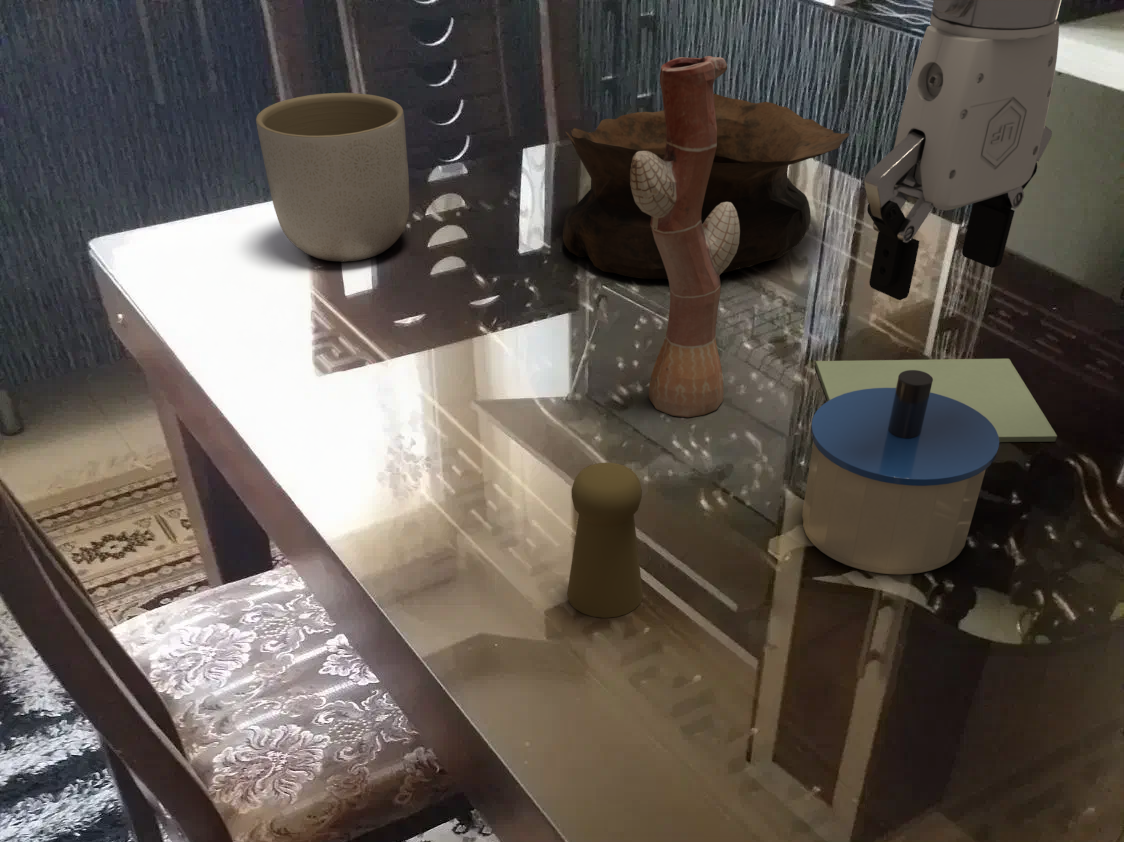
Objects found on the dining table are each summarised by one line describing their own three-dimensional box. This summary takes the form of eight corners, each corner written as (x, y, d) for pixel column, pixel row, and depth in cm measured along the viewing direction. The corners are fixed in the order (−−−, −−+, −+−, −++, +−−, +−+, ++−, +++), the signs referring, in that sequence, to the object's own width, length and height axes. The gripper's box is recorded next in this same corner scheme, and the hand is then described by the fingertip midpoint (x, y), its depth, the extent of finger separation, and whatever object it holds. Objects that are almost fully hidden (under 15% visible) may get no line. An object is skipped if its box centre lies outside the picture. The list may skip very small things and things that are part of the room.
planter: (426, 265, 139) (413, 129, 129) (285, 281, 136) (260, 142, 126) (405, 216, 151) (392, 87, 140) (275, 229, 148) (251, 99, 138)
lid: (969, 399, 97) (985, 334, 93) (1018, 491, 87) (1039, 423, 83) (796, 401, 97) (806, 336, 93) (825, 494, 87) (837, 425, 83)
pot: (943, 484, 102) (966, 395, 97) (984, 573, 93) (1012, 481, 87) (791, 486, 103) (804, 397, 97) (816, 575, 93) (832, 483, 87)
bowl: (503, 254, 146) (495, 121, 136) (682, 203, 163) (686, 82, 153) (705, 313, 125) (712, 161, 116) (886, 248, 142) (905, 111, 133)
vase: (721, 380, 117) (751, 44, 96) (734, 415, 112) (769, 68, 91) (618, 385, 117) (626, 48, 96) (627, 421, 111) (637, 72, 90)
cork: (629, 624, 89) (633, 501, 81) (556, 608, 90) (553, 486, 82) (652, 580, 93) (658, 459, 85) (581, 566, 94) (581, 445, 86)
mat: (1007, 363, 119) (1009, 358, 119) (1055, 441, 108) (1057, 436, 107) (814, 366, 119) (815, 360, 119) (842, 444, 108) (843, 438, 107)
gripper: (949, 30, 65) (890, 325, 77) (1135, -9, 72) (1054, 266, 84) (853, 6, 69) (811, 288, 81) (1037, -29, 77) (974, 235, 88)
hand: (935, 276), depth 83 cm, fingers open, 9 cm apart
